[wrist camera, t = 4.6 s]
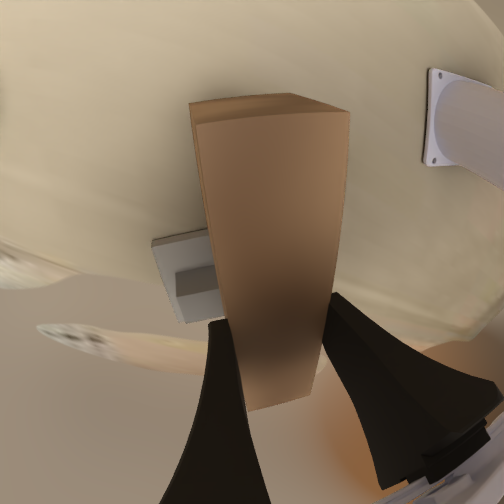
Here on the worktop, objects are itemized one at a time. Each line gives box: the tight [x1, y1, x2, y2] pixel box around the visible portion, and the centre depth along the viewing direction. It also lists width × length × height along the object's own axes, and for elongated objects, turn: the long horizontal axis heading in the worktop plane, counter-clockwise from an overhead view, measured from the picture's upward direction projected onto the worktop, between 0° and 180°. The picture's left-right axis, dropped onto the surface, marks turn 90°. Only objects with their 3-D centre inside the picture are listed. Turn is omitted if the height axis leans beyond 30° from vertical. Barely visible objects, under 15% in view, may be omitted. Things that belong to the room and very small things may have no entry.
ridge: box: [151, 229, 225, 323], centre depth 19 cm, size 9×7×3 cm
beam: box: [189, 93, 350, 412], centre depth 11 cm, size 4×14×4 cm, turn 4°
